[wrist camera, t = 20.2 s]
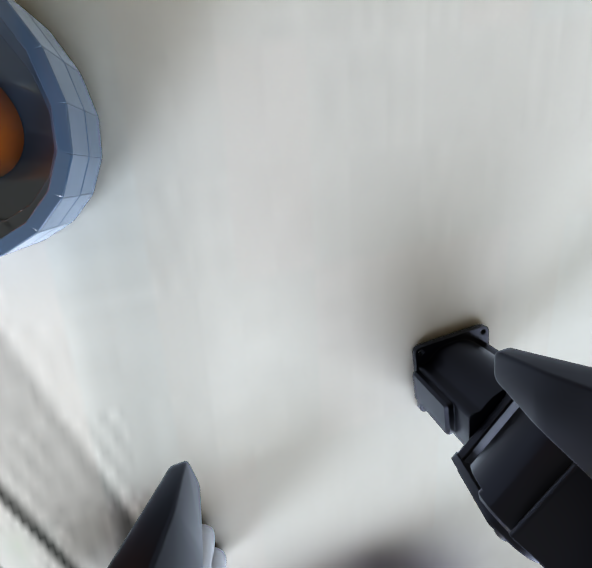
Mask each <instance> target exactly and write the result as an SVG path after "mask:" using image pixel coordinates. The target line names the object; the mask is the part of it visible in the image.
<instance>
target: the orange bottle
mask: <svg viewBox="0 0 592 568" xmlns="http://www.w3.org/2000/svg"><path fill="white" fill-rule="evenodd" d="M23 147H24V131H23V126H22V122H21V119H20V116H19V114H18V112H17V110H16V108H15V106H14V104H13V103H12V101H11V100H10V98H9V97H8V96H7V94H6V93H5V92H4V91H3V90H2V88H1V87H0V177H2V176H4V175H5V174H7V173H8V172H10V171H11V170H12V169H13V168H14V167H15V165H16V164H17V163H18V161H19V159H20V157H21V154H22V151H23Z"/></svg>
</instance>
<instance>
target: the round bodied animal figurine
mask: <svg viewBox="0 0 592 568" xmlns="http://www.w3.org/2000/svg"><path fill="white" fill-rule="evenodd" d="M202 541H203V568H226V555H225V553H224V551H222V550H221V549H219V548H216V547H215V534H214V530H213V528H212V527H211V526H209V525H205V524H202Z"/></svg>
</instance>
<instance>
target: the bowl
mask: <svg viewBox="0 0 592 568" xmlns="http://www.w3.org/2000/svg"><path fill="white" fill-rule="evenodd" d="M0 87H1V88H2V90H3V91H4V92H5V93H6V94H7V96H8V97H9V98H10V100H11V101H12V103H13V104H14V106H15V108H16V110H17V112H18V114H19V116H20V119H21V122H22V126H23V131H24V147H23V151H22V154H21V157H20V159H19V161H18V163H17V164H16V165H15V167H14V168H13V169H12V170H11V171H10V172H8V173H7V174H5V175H4V176H2V177H0V257H1V256H4V255H7V254H9V253H12V252H14V251H17V250H20V249H22V248H25V247H28V246H31V245H33V244H36V243H38V242H41V241H43V240H45V239H47V238H48V237H50V236H52V235H53V234H55V233H56V232H58V231H59V230H61V229H62V228H64V227H66V226H67V225H69V224H70V223H72V221H74V220H75V219H76V217H77V216H78V215H79V213H80V212H81V210H82V209H83V208H84V206H85V205H86V203H87V202H88V201H89V199H90V198H91V196H92V195H93V192H94V189H95V185H96V181H97V177H98V173H99V169H100V165H101V161H102V148H101V137H100V127H99V118H98V115H97V112H96V110H95V107H94V105H93V102H92V100H91V97H90V95H89V92H88V90H87V88H86V85H85V83H84V80H83V78H82V75H81V74H80V72H79V70H78V69H77V67H76V66H75V65H74V63H73V62H72V61H71V59H70V58H69V57H68V55H67V54H66V53H65V51H64V50H63V49H62V47H61V46H60V44H59V43H58V42H57V40H56V39H55V38H54V36H53V35H52V34H51V32H50V31H49V30H48V29H47V28H46V27H45V26H44V25H42V24H41V23H40V22H39V21H38V20H36V19H35V18H34V17H33V16H32V15H31V14H29V13H28V12H27V11H26V10H25V9H23V8H22V7H21V6H20V5H19V4H17V3H16V2H15V1H14V0H0Z"/></svg>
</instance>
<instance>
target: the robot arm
mask: <svg viewBox="0 0 592 568" xmlns="http://www.w3.org/2000/svg"><path fill="white" fill-rule="evenodd" d="M481 330H482V331H481ZM420 350H421V351H420ZM419 351H420V352H419ZM418 352H419V353H418ZM412 353H413V363H414V373H413V381H414V391H415V398H416V399H417V403H418V407H419V408H420V410H421V411H427V412H428V413H429V414H430V416H431V417H432V418H433V419H434V420H435V421H436V423H437V424H438V425H439V426H440V427H441V428H442V430H443V431H444V432H445V433H447V434H452V433H454V434H455V436H456V437H457V438H458V439H459V440H460V441H461V442H462V443H463V445H464V446H463V447H462V448H461V450H460V451H459V452H456V453H455V454H454V456H453V457H452V460H453V462H454V464H455V466H456V467H457V469H458V472H459V474H460V476H461V477H462V479H463V481H464V483H465V484H466V486H467V488H468V489H469V491H470V493H471V495H472V496H473V498H474V500H475V502H476V503H477V505H478V507H479V509H480V510H481V512H482V514H483V515H484V517H485V519H486V521H487V522H488V524H489V525H490V526H491V527H492V528H493V529H494V531H495V533H496V534H497V536H498V537H499V538H500V539H502V540H503V541H507V542H508V543H510V544H511V545H512V546H513V547H514V548H515V549H516V550H518V551H519V552H520V553H522V554H523V555H524V556H526V557H527V558H529V559H530V560H532V561H534V562H537V563H540V564H541V565H542V566H543V567H544V568H592V367H588V366H584V365H580V364H575V363H571V362H567V361H563V360H559V359H555V358H550V357H546V356H542V355H538V354H534V353H530V352H526V351H521V350H517V349H513V348H506V349H503V350H501V351H498V350H497V349H495V348H493V347H492V346H490V345H489V329H488V327H487V326H485V325H483V324H479V325H476V326H473V327H470V328H467V329H464V330H461V331H458V332H455V333H452V334H449V335H446V336H443V337H440V338H437V339H434V340H431V341H428V342H425V343H422V344H419V345H417V346H415V347H414V348H413V352H412ZM108 568H203V541H202V519H201V497H200V486H199V483H198V480H197V478H196V476H195V474H194V472H193V470H192V468H191V466H190V464H189V463H188V462H187V461H184V462H181V463H178V464H175V465H173V466H171V467H170V468H169V469H168V471H167V473H166V474H165V476H164V477H163V479H162V481H161V482H160V484H159V486H158V487H157V489H156V490H155V492H154V494H153V495H152V497H151V498H150V500H149V502H148V503H147V505H146V507H145V508H144V510H143V511H142V513H141V515H140V516H139V518H138V519H137V521H136V523H135V524H134V526H133V527H132V529H131V531H130V532H129V534H128V536H127V537H126V539H125V540H124V542H123V544H122V545H121V547H120V548H119V550H118V552H117V553H116V555H115V556H114V558H113V560H112V561H111V563H110V565H109V566H108Z"/></svg>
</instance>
